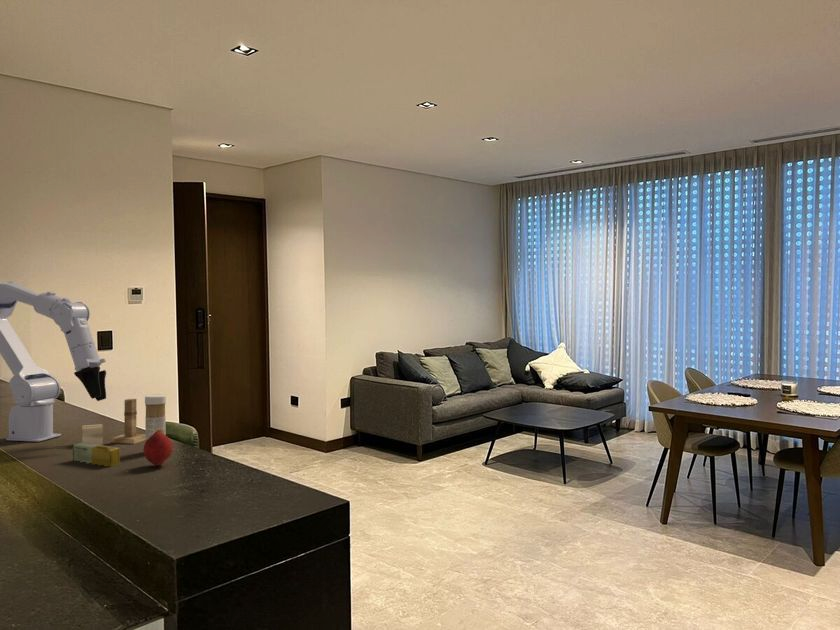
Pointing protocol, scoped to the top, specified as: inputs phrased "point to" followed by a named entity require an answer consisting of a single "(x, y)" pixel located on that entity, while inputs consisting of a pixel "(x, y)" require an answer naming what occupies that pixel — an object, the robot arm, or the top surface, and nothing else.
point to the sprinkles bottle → (154, 414)
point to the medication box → (96, 454)
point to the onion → (158, 448)
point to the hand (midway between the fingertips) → (99, 398)
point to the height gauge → (129, 425)
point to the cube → (92, 434)
